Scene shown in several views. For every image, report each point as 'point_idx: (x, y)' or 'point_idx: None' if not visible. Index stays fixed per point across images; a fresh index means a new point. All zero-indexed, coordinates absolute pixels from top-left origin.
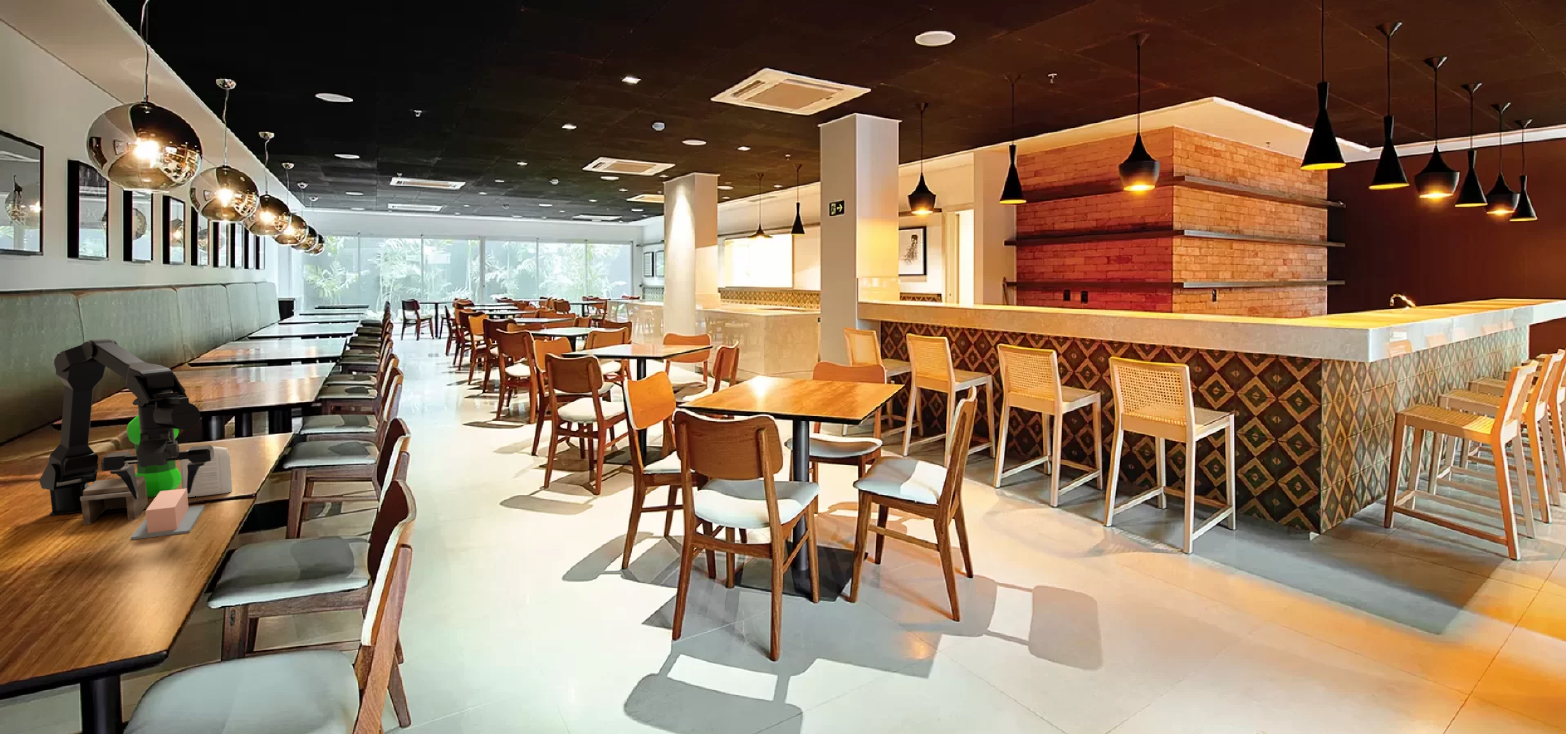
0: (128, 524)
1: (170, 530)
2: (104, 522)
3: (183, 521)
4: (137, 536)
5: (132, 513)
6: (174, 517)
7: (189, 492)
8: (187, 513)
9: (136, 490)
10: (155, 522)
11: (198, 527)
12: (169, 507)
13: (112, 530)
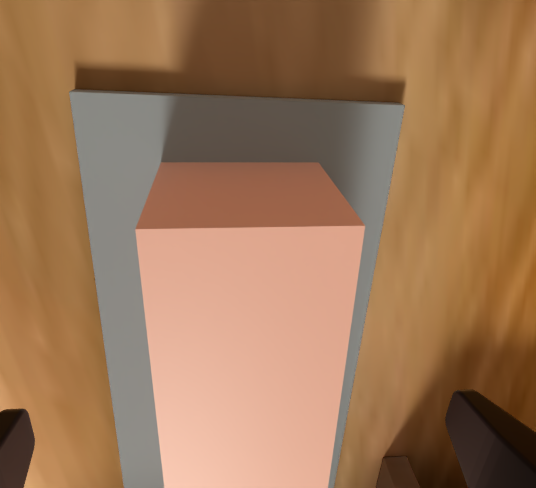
0: (405, 397)
1: (195, 152)
2: None
3: None
4: (369, 105)
5: (399, 482)
6: (159, 193)
7: (2, 415)
8: None
9: (497, 477)
10: (283, 185)
11: (51, 193)
12: (182, 237)
13: (467, 334)
